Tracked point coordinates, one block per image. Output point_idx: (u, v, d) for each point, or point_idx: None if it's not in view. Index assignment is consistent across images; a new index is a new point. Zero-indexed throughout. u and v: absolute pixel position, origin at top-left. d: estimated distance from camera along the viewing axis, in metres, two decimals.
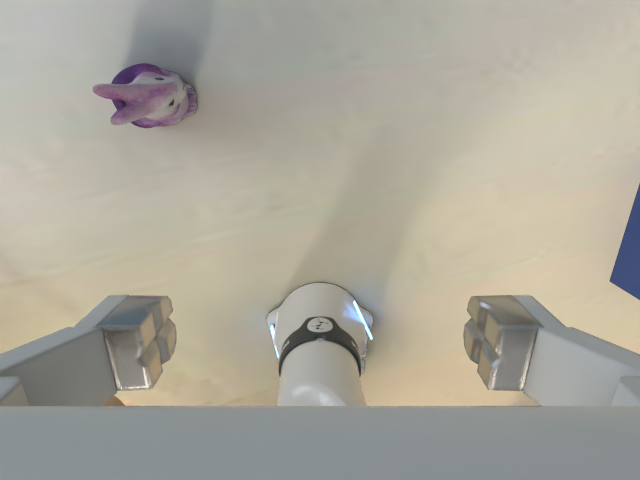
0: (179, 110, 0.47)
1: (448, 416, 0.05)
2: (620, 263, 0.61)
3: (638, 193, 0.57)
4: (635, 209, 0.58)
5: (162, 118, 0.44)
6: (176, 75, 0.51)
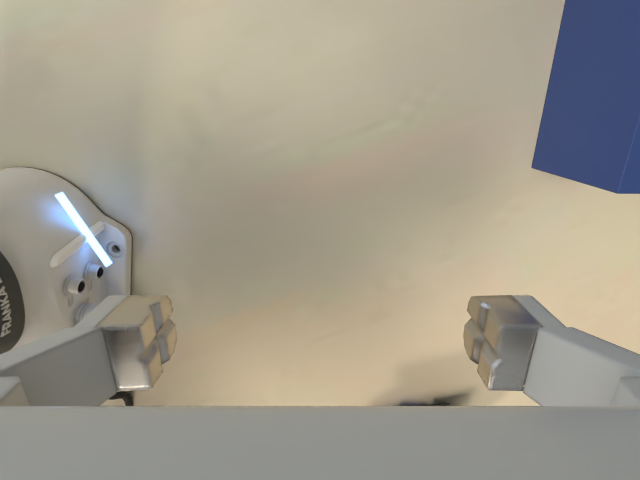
0: None
1: (448, 416, 0.05)
2: (546, 126, 0.34)
3: None
4: (567, 14, 0.31)
5: None
6: None
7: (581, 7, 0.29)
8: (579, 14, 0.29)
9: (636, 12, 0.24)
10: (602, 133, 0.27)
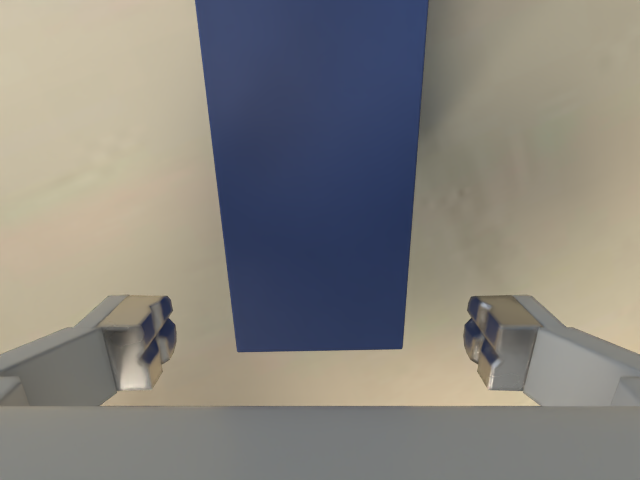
0: None
1: (448, 416, 0.05)
2: None
3: None
4: None
5: None
6: None
7: None
8: None
9: None
10: None
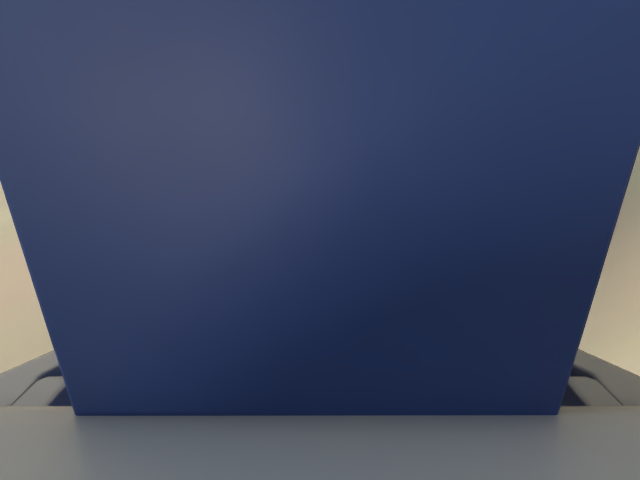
0: None
1: (448, 416, 0.05)
2: None
3: None
4: None
5: None
6: None
7: None
8: None
9: None
10: None
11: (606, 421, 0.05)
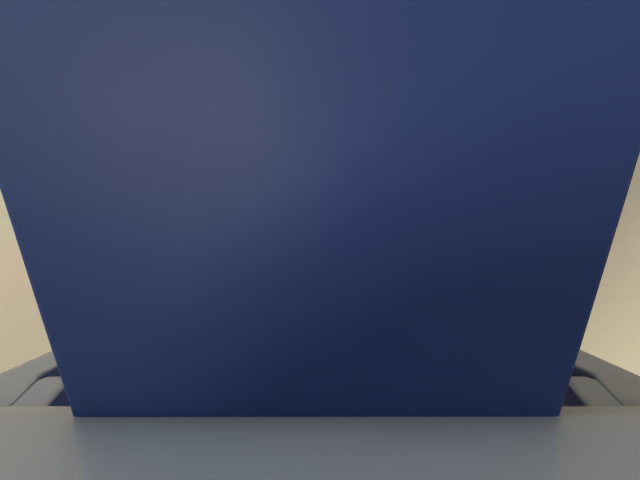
0: None
1: None
2: None
3: None
4: None
5: None
6: None
7: None
8: None
9: None
10: None
11: (606, 421, 0.05)
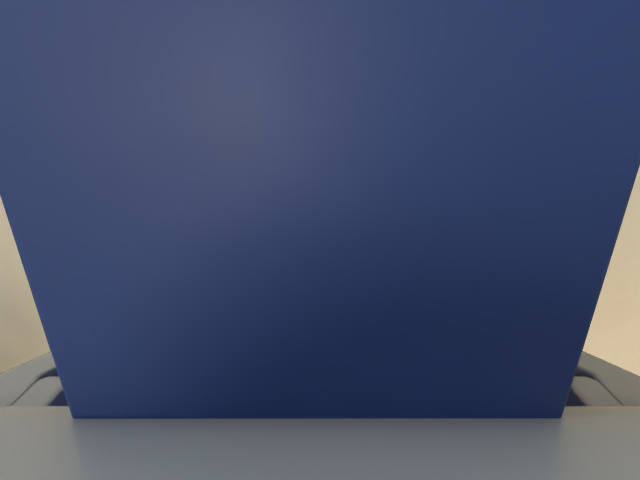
0: None
1: None
2: None
3: None
4: None
5: None
6: None
7: None
8: None
9: None
10: None
11: (606, 421, 0.05)
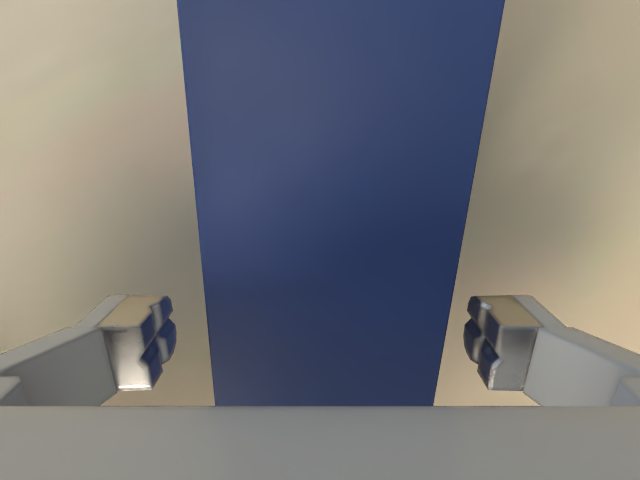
0: None
1: (448, 416, 0.05)
2: None
3: None
4: None
5: None
6: None
7: None
8: None
9: None
10: None
11: (606, 421, 0.05)
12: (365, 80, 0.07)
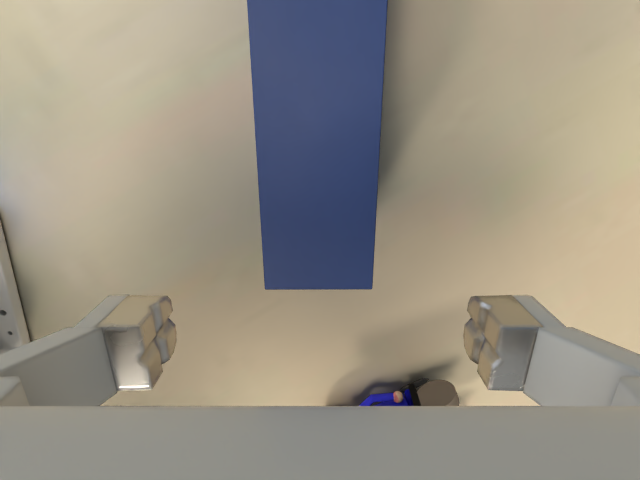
0: None
1: (448, 416, 0.05)
2: None
3: None
4: None
5: None
6: None
7: None
8: None
9: None
10: None
11: (606, 421, 0.05)
12: (329, 73, 0.17)
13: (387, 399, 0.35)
